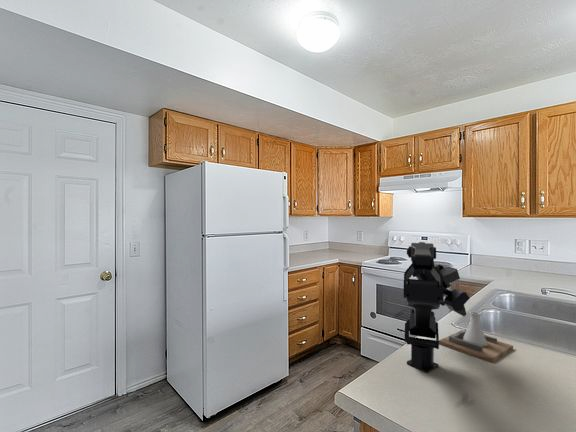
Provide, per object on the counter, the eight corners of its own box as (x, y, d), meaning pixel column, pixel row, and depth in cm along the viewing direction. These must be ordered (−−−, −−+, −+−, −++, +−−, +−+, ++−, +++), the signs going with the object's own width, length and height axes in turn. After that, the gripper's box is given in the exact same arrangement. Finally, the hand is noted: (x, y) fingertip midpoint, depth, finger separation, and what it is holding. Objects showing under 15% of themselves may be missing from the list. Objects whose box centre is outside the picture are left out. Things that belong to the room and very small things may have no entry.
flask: (492, 348, 96) (492, 316, 96) (468, 346, 97) (468, 315, 97) (481, 339, 103) (481, 309, 103) (459, 337, 104) (458, 309, 104)
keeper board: (491, 362, 89) (491, 353, 89) (438, 344, 102) (438, 336, 102) (513, 349, 98) (513, 340, 98) (461, 333, 111) (461, 326, 111)
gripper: (467, 265, 88) (495, 302, 90) (425, 253, 106) (450, 284, 109) (441, 292, 86) (470, 328, 89) (403, 275, 105) (429, 306, 107)
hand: (454, 309), depth 99 cm, fingers open, 9 cm apart
